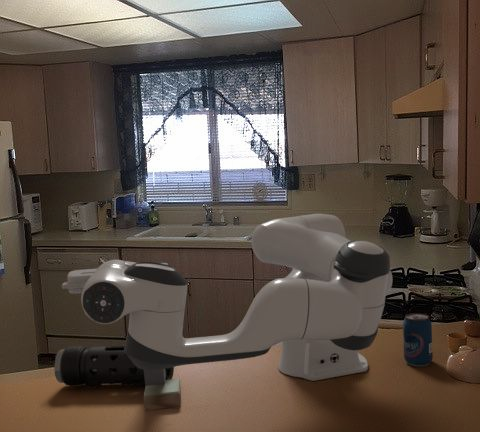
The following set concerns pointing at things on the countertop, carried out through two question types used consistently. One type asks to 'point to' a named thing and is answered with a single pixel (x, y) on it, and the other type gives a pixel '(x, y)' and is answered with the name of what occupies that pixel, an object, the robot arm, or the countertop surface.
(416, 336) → the soda can
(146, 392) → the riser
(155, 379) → the charger
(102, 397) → the countertop surface
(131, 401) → the countertop surface
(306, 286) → the robot arm
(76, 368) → the muzzle brake
